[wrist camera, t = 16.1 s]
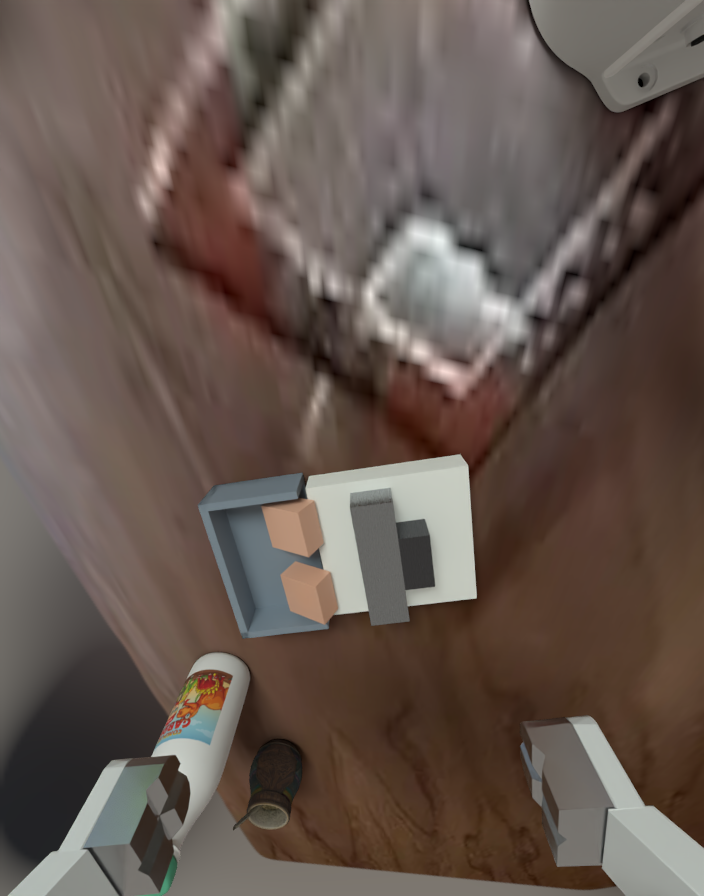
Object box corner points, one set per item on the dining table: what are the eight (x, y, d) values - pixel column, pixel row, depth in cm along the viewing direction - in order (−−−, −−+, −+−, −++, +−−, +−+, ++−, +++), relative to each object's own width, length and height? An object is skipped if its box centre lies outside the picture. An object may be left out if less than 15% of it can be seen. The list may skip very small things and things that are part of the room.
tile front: (314, 500, 38) (297, 512, 36) (323, 543, 39) (308, 557, 37) (278, 494, 41) (261, 505, 39) (288, 534, 42) (272, 547, 40)
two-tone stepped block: (350, 493, 38) (420, 483, 37) (370, 604, 43) (433, 597, 42) (349, 507, 35) (425, 497, 35) (371, 625, 40) (438, 618, 39)
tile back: (330, 571, 41) (315, 586, 39) (338, 608, 42) (324, 624, 40) (295, 561, 43) (280, 574, 41) (304, 596, 45) (290, 610, 43)
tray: (302, 472, 40) (296, 491, 36) (331, 600, 46) (328, 628, 42) (213, 485, 41) (197, 505, 37) (252, 609, 47) (242, 638, 43)
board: (460, 454, 40) (468, 465, 37) (469, 580, 45) (476, 598, 42) (309, 476, 41) (305, 488, 38) (335, 596, 46) (333, 614, 43)
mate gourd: (300, 769, 57) (287, 860, 48) (250, 759, 57) (227, 849, 47) (310, 738, 55) (299, 827, 45) (258, 727, 54) (236, 815, 45)
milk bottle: (261, 663, 50) (202, 877, 31) (237, 700, 52) (169, 919, 33) (206, 641, 49) (110, 849, 30) (184, 679, 51) (83, 894, 32)
